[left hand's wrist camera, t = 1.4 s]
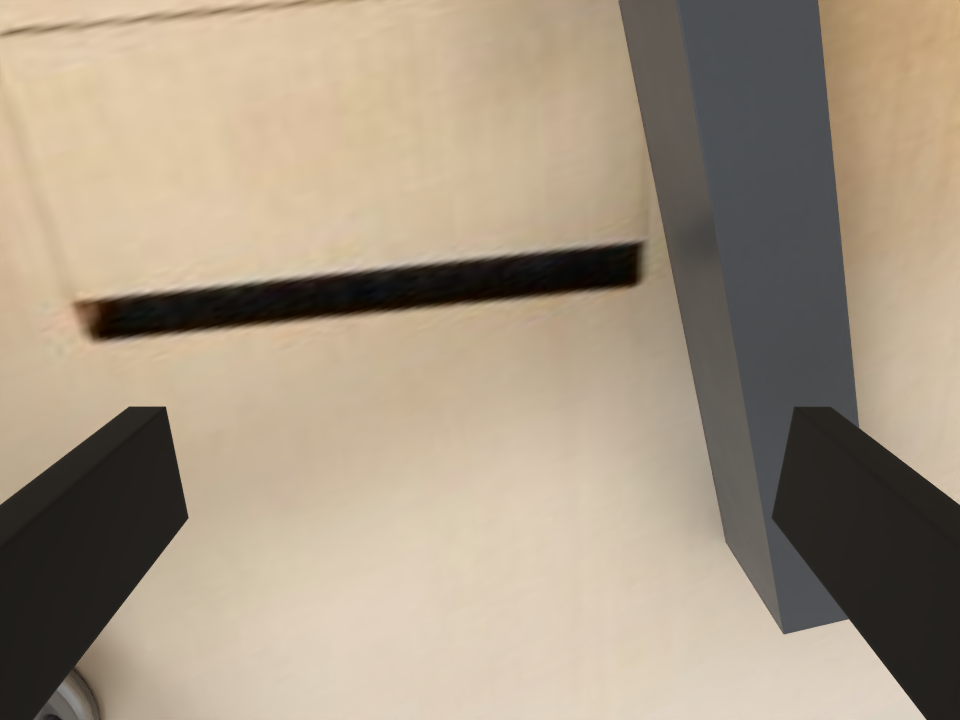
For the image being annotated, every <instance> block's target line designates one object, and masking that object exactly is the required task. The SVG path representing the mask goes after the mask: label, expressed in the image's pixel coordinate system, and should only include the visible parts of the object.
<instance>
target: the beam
mask: <svg viewBox="0 0 960 720" xmlns="http://www.w3.org/2000/svg"><path fill="white" fill-rule="evenodd" d="M619 5H620V10H621V15H622V20H623V25H624V30H625V35H626V40H627V45H628V50H629V55H630V60H631V65H632V70H633V76H634V81H635V86H636V91H637V96H638V101H639V106H640V111H641V116H642V121H643V126H644V131H645V136H646V141H647V146H648V151H649V156H650V161H651V166H652V171H653V176H654V181H655V187H656V192H657V197H658V202H659V207H660V212H661V217H662V222H663V227H664V232H665V237H666V242H667V247H668V252H669V257H670V262H671V267H672V272H673V277H674V282H675V287H676V292H677V298H678V303H679V308H680V313H681V318H682V323H683V328H684V333H685V338H686V343H687V348H688V353H689V358H690V363H691V368H692V373H693V378H694V383H695V388H696V393H697V398H698V403H699V409H700V414H701V419H702V424H703V429H704V434H705V439H706V444H707V449H708V454H709V459H710V464H711V469H712V474H713V479H714V484H715V489H716V494H717V499H718V504H719V509H720V514H721V519H722V525H723V530H724V535H725V540H726V543H727V545H728V547H729V548H730V550H731V551H732V553H733V554H734V556H735V558H736V559H737V561H738V562H739V564H740V566H741V567H742V569H743V570H744V572H745V574H746V575H747V577H748V578H749V580H750V582H751V583H752V585H753V586H754V588H755V590H756V591H757V593H758V594H759V596H760V597H761V599H762V601H763V602H764V604H765V605H766V607H767V609H768V610H769V612H770V613H771V615H772V617H773V618H774V620H775V621H776V623H777V625H778V626H779V628H780V629H781V631H782V633H783V634H788V633H792V632H796V631H800V630H805V629H809V628H813V627H817V626H822V625H826V624H830V623H834V622H839V621H843V620H847V619H849V618H848V617H847V616H846V614H845V613H844V612H843V610H842V609H841V608H840V606H839V605H838V604H837V603H836V601H835V600H834V599H833V597H832V596H831V595H830V593H829V592H828V591H827V590H826V588H825V587H824V586H823V584H822V583H821V582H820V580H819V579H818V578H817V577H816V575H815V574H814V573H813V571H812V570H811V569H810V567H809V566H808V565H807V564H806V562H805V561H804V560H803V558H802V557H801V556H800V554H799V553H798V552H797V551H796V549H795V548H794V547H793V545H792V544H791V543H790V541H789V540H788V539H787V538H786V536H785V535H784V534H783V532H782V531H781V530H780V528H779V527H778V526H777V525H776V523H775V522H774V521H773V519H772V513H773V508H774V503H775V498H776V493H777V488H778V484H779V479H780V474H781V469H782V464H783V459H784V454H785V449H786V444H787V439H788V434H789V430H790V425H791V420H792V415H793V410H794V407H832V408H833V409H835V410H836V411H837V412H838V413H840V414H841V415H842V416H844V417H845V418H846V419H848V420H849V421H850V422H852V423H853V424H854V425H856V426H857V427H858V428H859V422H858V412H857V401H856V391H855V381H854V370H853V360H852V350H851V339H850V329H849V318H848V308H847V298H846V287H845V277H844V267H843V256H842V246H841V235H840V225H839V215H838V204H837V194H836V184H835V173H834V163H833V152H832V142H831V132H830V121H829V111H828V101H827V90H826V80H825V69H824V59H823V49H822V38H821V28H820V18H819V7H818V0H619Z"/></svg>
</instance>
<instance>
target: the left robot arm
mask: <svg viewBox="0 0 960 720" xmlns="http://www.w3.org/2000/svg"><path fill="white" fill-rule="evenodd" d="M187 519H188V513H187V508H186V503H185V498H184V493H183V488H182V484H181V479H180V474H179V469H178V464H177V459H176V454H175V449H174V444H173V439H172V434H171V430H170V425H169V420H168V415H167V410H166V407H128V408H127V409H125V410H124V411H123V412H122V413H120V414H119V415H118V416H116V417H115V418H114V419H112V420H111V421H110V422H108V423H107V424H106V425H104V426H103V427H102V428H101V429H99V430H98V431H97V432H95V433H94V434H93V435H91V436H90V437H89V438H87V439H86V440H85V441H84V442H82V443H81V444H80V445H78V446H77V447H76V448H74V449H73V450H72V451H70V452H69V453H68V454H66V455H65V456H64V457H63V458H61V459H60V460H59V461H57V462H56V463H55V464H53V465H52V466H51V467H49V468H48V469H47V470H46V471H44V472H43V473H42V474H40V475H39V476H38V477H36V478H35V479H34V480H32V481H31V482H30V483H28V484H27V485H26V486H25V487H23V488H22V489H21V490H19V491H18V492H17V493H15V494H14V495H13V496H11V497H10V498H9V499H7V500H6V501H5V502H4V503H2V504H1V505H0V720H99V713H98V709H97V705H96V702H95V700H94V698H93V695H92V694H91V692H90V690H89V688H88V687H87V685H86V684H85V683H84V681H83V680H82V679H81V678H80V677H79V675H78V674H77V673H76V672H75V671H74V670H73V668H74V666H75V665H76V664H77V662H78V661H79V660H80V658H81V657H82V656H83V655H84V653H85V652H86V651H87V649H88V648H89V647H90V645H91V644H92V643H93V642H94V640H95V639H96V638H97V636H98V635H99V634H100V632H101V631H102V630H103V629H104V627H105V626H106V625H107V623H108V622H109V621H110V619H111V618H112V617H113V616H114V614H115V613H116V612H117V610H118V609H119V608H120V606H121V605H122V604H123V603H124V601H125V600H126V599H127V597H128V596H129V595H130V593H131V592H132V591H133V590H134V588H135V587H136V586H137V584H138V583H139V582H140V580H141V579H142V578H143V577H144V575H145V574H146V573H147V571H148V570H149V569H150V567H151V566H152V565H153V564H154V562H155V561H156V560H157V558H158V557H159V556H160V554H161V553H162V552H163V551H164V549H165V548H166V547H167V545H168V544H169V543H170V541H171V540H172V539H173V538H174V536H175V535H176V534H177V532H178V531H179V530H180V528H181V527H182V526H183V525H184V523H185V522H186V521H187ZM772 519H773V521H774V522H775V523H776V525H777V526H778V527H779V528H780V530H781V531H782V532H783V534H784V535H785V536H786V538H787V539H788V540H789V541H790V543H791V544H792V545H793V547H794V548H795V549H796V551H797V552H798V553H799V554H800V556H801V557H802V558H803V560H804V561H805V562H806V564H807V565H808V566H809V567H810V569H811V570H812V571H813V573H814V574H815V575H816V577H817V578H818V579H819V580H820V582H821V583H822V584H823V586H824V587H825V588H826V590H827V591H828V592H829V593H830V595H831V596H832V597H833V599H834V600H835V601H836V603H837V604H838V605H839V606H840V608H841V609H842V610H843V612H844V613H845V614H846V616H847V617H848V618H849V619H850V621H851V622H852V623H853V625H854V626H855V627H856V629H857V630H858V631H859V632H860V634H861V635H862V636H863V638H864V639H865V640H866V642H867V643H868V644H869V645H870V647H871V648H872V649H873V651H874V652H875V653H876V655H877V656H878V657H879V658H880V660H881V661H882V662H883V664H884V665H885V666H886V668H887V669H888V670H889V672H890V673H891V674H892V675H893V677H894V678H895V679H896V681H897V682H898V683H899V685H900V686H901V687H902V688H903V690H904V691H905V692H906V694H907V695H908V696H909V698H910V699H911V700H912V701H913V703H914V704H915V705H916V707H917V708H918V709H919V711H920V712H921V713H922V714H923V716H924V717H925V718H926V720H960V505H959V504H958V503H956V502H955V501H954V500H953V499H951V498H950V497H949V496H947V495H946V494H945V493H943V492H942V491H941V490H939V489H938V488H937V487H935V486H934V485H933V484H932V483H930V482H929V481H928V480H926V479H925V478H924V477H922V476H921V475H920V474H918V473H917V472H916V471H914V470H913V469H912V468H911V467H909V466H908V465H907V464H905V463H904V462H903V461H901V460H900V459H899V458H897V457H896V456H895V455H894V454H892V453H891V452H890V451H888V450H887V449H886V448H884V447H883V446H882V445H880V444H879V443H878V442H876V441H875V440H874V439H873V438H871V437H870V436H869V435H867V434H866V433H865V432H863V431H862V430H861V429H859V428H858V427H857V426H856V425H854V424H853V423H852V422H850V421H849V420H848V419H846V418H845V417H844V416H842V415H841V414H840V413H838V412H837V411H836V410H835V409H833V408H832V407H794V410H793V415H792V420H791V425H790V430H789V434H788V439H787V444H786V449H785V454H784V459H783V464H782V469H781V474H780V479H779V484H778V488H777V493H776V498H775V503H774V508H773V513H772Z"/></svg>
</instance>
